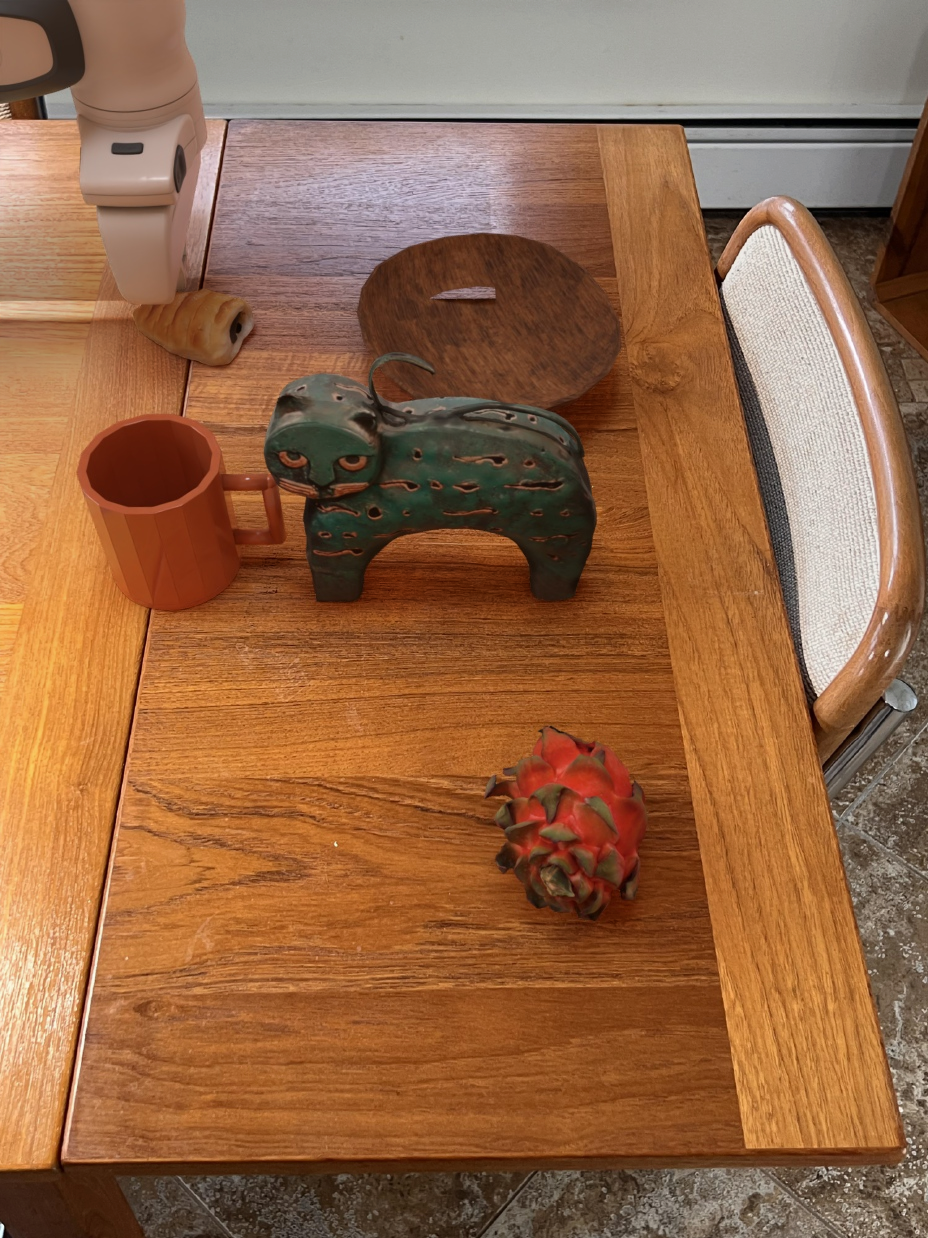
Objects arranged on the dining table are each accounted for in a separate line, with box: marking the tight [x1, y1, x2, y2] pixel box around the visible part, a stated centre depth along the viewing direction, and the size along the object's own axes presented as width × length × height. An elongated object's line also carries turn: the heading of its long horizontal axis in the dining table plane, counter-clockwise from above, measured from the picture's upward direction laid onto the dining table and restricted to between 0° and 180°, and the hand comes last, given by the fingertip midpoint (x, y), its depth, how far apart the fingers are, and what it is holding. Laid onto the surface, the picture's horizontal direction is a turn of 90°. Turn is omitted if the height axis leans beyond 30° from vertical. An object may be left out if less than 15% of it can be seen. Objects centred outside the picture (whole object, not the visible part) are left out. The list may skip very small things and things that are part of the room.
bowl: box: [356, 232, 622, 413], centre depth 90 cm, size 20×22×5 cm
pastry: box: [132, 288, 255, 367], centre depth 92 cm, size 9×7×4 cm
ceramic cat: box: [263, 352, 598, 603], centre depth 71 cm, size 20×6×20 cm, turn 90°
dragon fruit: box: [483, 725, 649, 922], centre depth 64 cm, size 8×8×12 cm
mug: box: [76, 413, 288, 611], centre depth 76 cm, size 12×9×10 cm
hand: (177, 279), depth 94 cm, fingers closed
